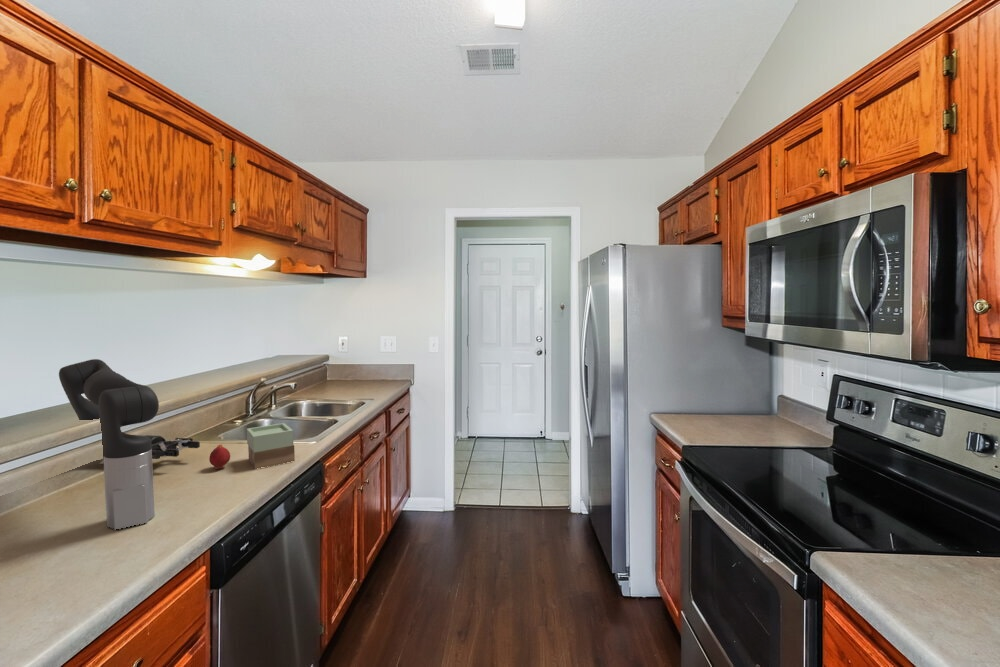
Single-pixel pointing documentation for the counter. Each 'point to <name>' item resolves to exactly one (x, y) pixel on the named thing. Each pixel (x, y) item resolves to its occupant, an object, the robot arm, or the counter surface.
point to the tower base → (271, 456)
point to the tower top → (269, 437)
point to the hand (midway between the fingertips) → (188, 448)
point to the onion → (219, 456)
